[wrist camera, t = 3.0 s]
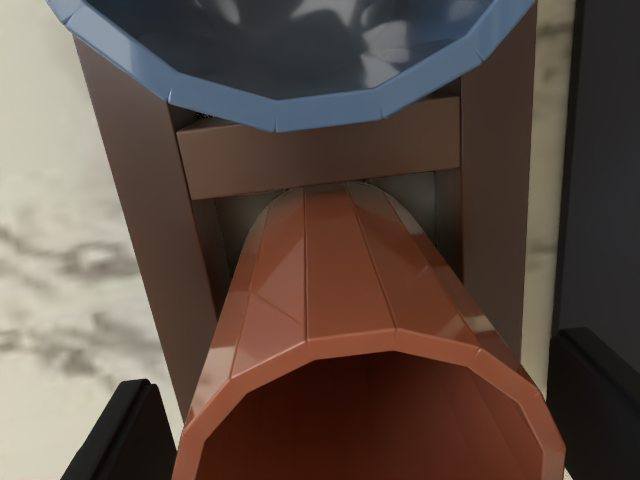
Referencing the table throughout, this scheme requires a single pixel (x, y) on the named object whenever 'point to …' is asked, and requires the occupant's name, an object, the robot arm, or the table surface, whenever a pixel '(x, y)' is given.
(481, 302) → the holder
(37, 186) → the table surface
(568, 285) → the placemat
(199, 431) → the cup
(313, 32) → the cup
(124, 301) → the table surface
